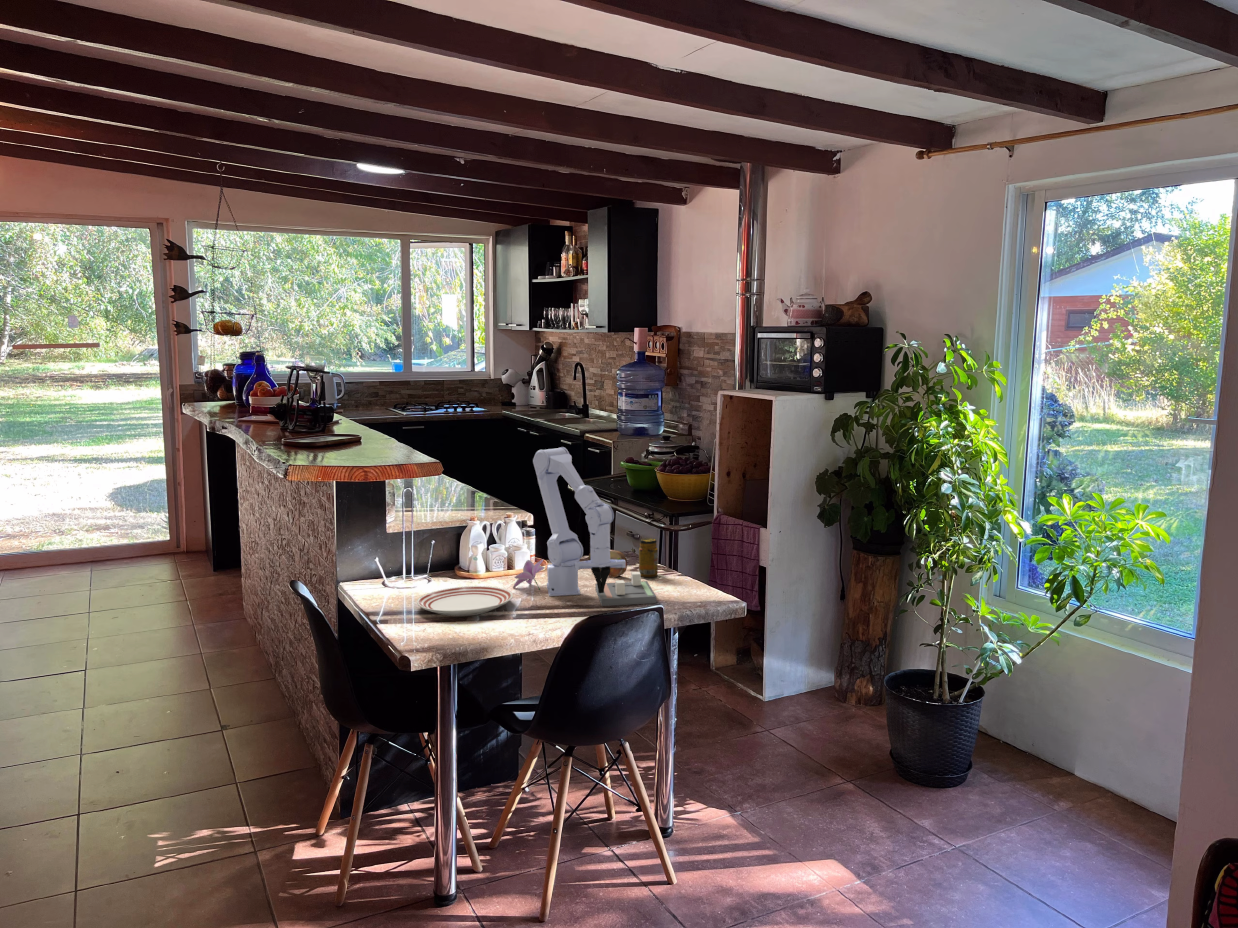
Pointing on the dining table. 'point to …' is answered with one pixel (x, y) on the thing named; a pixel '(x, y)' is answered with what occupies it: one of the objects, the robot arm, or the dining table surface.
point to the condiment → (648, 559)
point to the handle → (635, 578)
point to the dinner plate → (464, 600)
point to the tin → (615, 556)
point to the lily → (529, 573)
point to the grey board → (627, 594)
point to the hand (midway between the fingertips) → (601, 592)
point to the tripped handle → (620, 587)
